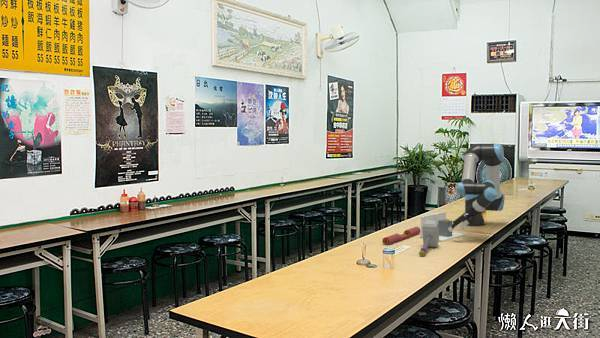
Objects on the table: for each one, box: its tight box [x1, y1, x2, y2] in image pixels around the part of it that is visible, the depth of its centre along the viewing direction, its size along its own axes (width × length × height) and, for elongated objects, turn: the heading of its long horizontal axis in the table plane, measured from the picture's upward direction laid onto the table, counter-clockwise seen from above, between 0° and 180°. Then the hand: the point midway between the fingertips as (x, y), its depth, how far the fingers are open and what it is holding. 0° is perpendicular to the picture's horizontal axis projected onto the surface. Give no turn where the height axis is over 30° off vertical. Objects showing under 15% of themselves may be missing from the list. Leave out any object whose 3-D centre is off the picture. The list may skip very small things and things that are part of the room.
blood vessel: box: [381, 226, 421, 246], centre depth 333 cm, size 42×5×5 cm, turn 141°
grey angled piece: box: [418, 220, 440, 257], centre depth 299 cm, size 15×8×30 cm
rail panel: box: [420, 211, 466, 243], centre depth 336 cm, size 26×16×14 cm, turn 131°
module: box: [438, 218, 453, 237], centre depth 335 cm, size 5×7×11 cm
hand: (455, 228), depth 329 cm, fingers open, 13 cm apart
